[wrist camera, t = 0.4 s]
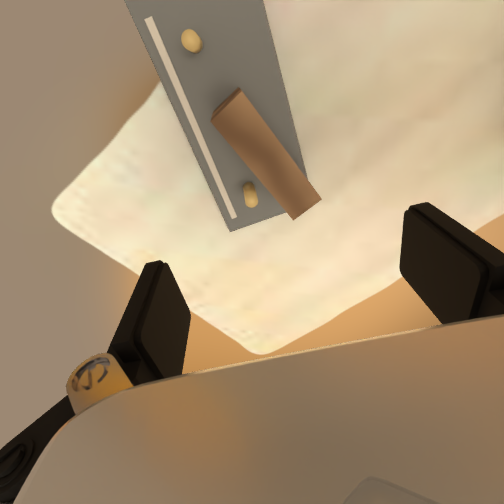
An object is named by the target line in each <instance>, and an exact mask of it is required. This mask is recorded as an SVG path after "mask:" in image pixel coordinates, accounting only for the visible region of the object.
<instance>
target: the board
mask: <svg viewBox="0 0 504 504" xmlns="http://www.w3.org/2000/svg"><path fill="white" fill-rule="evenodd" d="M124 1H125V3H126V5H127V7H128V9H129V11H130V14H131V16H132V18H133V20H134V22H135V25H136V27H137V29H138V31H139V33H140V36H141V38H142V40H143V42H144V44H145V47H146V49H147V51H148V53H149V55H150V58H151V60H152V62H153V64H154V66H155V69H156V71H157V73H158V75H159V77H160V79H161V82H162V84H163V86H164V88H165V90H166V93H167V95H168V97H169V99H170V101H171V104H172V106H173V108H174V110H175V112H176V115H177V117H178V119H179V121H180V123H181V126H182V128H183V130H184V132H185V134H186V137H187V139H188V141H189V143H190V145H191V147H192V150H193V152H194V154H195V156H196V158H197V161H198V163H199V165H200V167H201V169H202V172H203V174H204V176H205V178H206V180H207V183H208V185H209V187H210V189H211V191H212V194H213V196H214V198H215V200H216V202H217V205H218V207H219V209H220V211H221V213H222V215H223V218H224V220H225V222H226V224H227V226H228V229H229V231H230V232H232V231H235V230H237V229H240V228H243V227H246V226H249V225H252V224H254V223H257V222H260V221H263V220H266V219H269V218H271V217H274V216H277V215H280V214H283V213H286V211H285V210H284V209H283V207H282V206H281V205H280V204H279V203H278V201H277V200H276V199H275V198H274V197H273V196H272V194H271V193H270V192H269V191H268V190H267V188H266V187H265V186H264V185H263V184H262V182H261V181H260V180H259V179H258V178H257V176H256V175H255V174H254V173H253V172H252V171H251V169H250V168H249V167H248V166H247V165H246V163H245V162H244V161H243V160H242V159H241V157H240V156H239V155H238V154H237V153H236V152H235V150H234V149H233V148H232V147H231V146H230V144H229V143H228V142H227V141H226V140H225V138H224V137H223V136H222V135H221V134H220V133H219V131H218V130H217V129H216V128H215V127H214V125H213V124H212V123H211V122H210V121H211V117H212V114H213V111H214V110H215V109H216V108H217V107H218V106H219V105H220V104H221V103H222V102H223V101H225V100H226V99H227V98H228V97H229V96H230V95H231V94H232V93H233V92H234V91H235V90H236V89H237V88H238V87H239V88H240V89H241V90H242V92H243V93H244V94H245V96H246V97H247V98H248V100H249V101H250V102H251V104H252V105H253V107H254V108H255V109H256V111H257V112H258V113H259V115H260V116H261V117H262V119H263V120H264V121H265V123H266V124H267V126H268V127H269V128H270V130H271V131H272V132H273V134H274V135H275V136H276V138H277V139H278V140H279V142H280V143H281V144H282V146H283V147H284V149H285V150H286V151H287V153H288V154H289V155H290V157H291V158H292V159H293V161H294V162H295V163H296V165H297V166H298V168H299V169H300V170H301V172H302V173H303V174H304V176H305V177H306V178H307V175H306V171H305V167H304V163H303V159H302V155H301V151H300V147H299V143H298V139H297V135H296V131H295V127H294V123H293V119H292V115H291V111H290V107H289V103H288V99H287V95H286V91H285V87H284V83H283V79H282V75H281V71H280V67H279V63H278V59H277V55H276V51H275V47H274V43H273V39H272V35H271V31H270V27H269V23H268V19H267V15H266V11H265V7H264V3H263V0H124ZM307 180H308V179H307Z"/></svg>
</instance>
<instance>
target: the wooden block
mask: <svg viewBox="0 0 504 504" xmlns="http://www.w3.org/2000/svg"><path fill="white" fill-rule="evenodd" d="M210 122H211V123H212V124H213V125H214V127H215V128H216V129H217V130H218V131H219V133H220V134H221V135H222V136H223V137H224V138H225V140H226V141H227V142H228V143H229V144H230V146H231V147H232V148H233V149H234V150H235V152H236V153H237V154H238V155H239V156H240V157H241V159H242V160H243V161H244V162H245V163H246V165H247V166H248V167H249V168H250V169H251V171H252V172H253V173H254V174H255V175H256V176H257V178H258V179H259V180H260V181H261V182H262V184H263V185H264V186H265V187H266V188H267V190H268V191H269V192H270V193H271V194H272V196H273V197H274V198H275V199H276V200H277V201H278V203H279V204H280V205H281V206H282V207H283V209H284V210H285V211H286V212H287V213H288V215H289V216H290V217H291V218H292V219H293V220H294V219H296V218H297V217H299V216H300V215H301V214H303V213H304V212H305V211H307V210H308V209H309V208H311V207H312V206H313V205H315V204H316V203H317V202H319V201H320V200H321V197H320V196H319V195H318V193H317V192H316V191H315V189H314V188H313V187H312V185H311V184H310V182H309V181H308V180H307V178H306V177H305V176H304V174H303V173H302V172H301V170H300V169H299V168H298V166H297V165H296V163H295V162H294V161H293V159H292V158H291V157H290V155H289V154H288V153H287V151H286V150H285V149H284V147H283V146H282V144H281V143H280V142H279V140H278V139H277V138H276V136H275V135H274V134H273V132H272V131H271V130H270V128H269V127H268V126H267V124H266V123H265V121H264V120H263V119H262V117H261V116H260V115H259V113H258V112H257V111H256V109H255V108H254V107H253V105H252V104H251V102H250V101H249V100H248V98H247V97H246V96H245V94H244V93H243V92H242V90H241V89H240V88H239V87H238V88H237V89H236V90H235V91H234V92H233V93H232V94H231V95H230V96H229V97H228V98H227V99H226V100H225V101H223V102H222V103H221V104H220V105H219V106H218V107H217V108H216V109H215V110H214V111H213V114H212V117H211V121H210Z"/></svg>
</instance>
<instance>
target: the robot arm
mask: <svg viewBox="0 0 504 504" xmlns="http://www.w3.org/2000/svg"><path fill="white" fill-rule="evenodd" d="M400 272H401V274H402V276H403V277H404V278H405V280H406V281H407V282H408V283H409V285H410V286H411V287H412V288H413V289H414V291H415V292H416V293H417V294H418V295H419V296H420V298H421V299H422V300H423V301H424V303H425V304H426V305H427V306H428V307H429V309H430V310H431V311H432V312H433V314H434V315H435V316H436V317H437V318H438V319H439V321H440V322H441V323H442V325H436V326H431V327H426V328H420V329H415V330H409V331H404V332H399V333H394V334H389V335H383V336H377V337H372V338H366V339H361V340H356V341H350V342H345V343H340V344H335V345H329V346H324V347H319V348H314V349H309V350H303V351H298V352H293V353H288V354H282V355H278V356H272V357H267V358H262V359H257V360H252V361H247V362H242V363H237V364H231V365H226V366H221V367H217V368H211V369H206V370H201V371H197V372H192V373H187V374H182V369H183V363H184V357H185V351H186V345H187V339H188V332H189V326H190V320H191V314H190V310H189V308H188V306H187V304H186V302H185V299H184V297H183V295H182V293H181V291H180V289H179V287H178V284H177V282H176V280H175V278H174V276H173V274H172V271H171V269H170V267H169V265H168V264H167V263H163V262H162V261H161V260H159V261H154V262H150V263H146V264H145V266H144V268H143V271H142V273H141V275H140V278H139V280H138V282H137V284H136V287H135V289H134V291H133V294H132V296H131V298H130V300H129V303H128V305H127V307H126V310H125V312H124V314H123V317H122V319H121V321H120V323H119V326H118V328H117V330H116V332H115V335H114V337H113V339H112V341H111V344H110V346H109V349H108V351H107V353H101V354H97V355H94V356H92V357H90V358H88V359H86V360H85V361H84V362H82V363H81V364H80V365H79V366H78V367H77V368H76V369H75V370H74V371H73V372H72V374H71V375H70V377H69V379H68V381H67V384H66V391H67V394H68V395H67V396H66V397H64V398H63V399H62V400H61V401H60V402H58V403H57V404H56V405H55V406H53V407H52V408H51V409H50V410H48V411H47V412H46V413H45V414H43V415H42V416H41V417H40V418H38V419H37V420H36V421H35V422H33V423H32V424H31V425H30V426H28V427H27V428H26V429H25V430H24V431H22V432H21V433H20V434H18V435H17V436H16V437H15V438H13V439H12V440H11V441H10V442H9V443H7V444H6V445H5V446H4V447H3V448H2V449H1V450H0V504H504V253H503V252H501V251H500V250H498V249H497V248H495V247H494V246H492V245H491V244H489V243H488V242H486V241H485V240H483V239H482V238H480V237H479V236H478V235H476V234H475V233H473V232H472V231H470V230H469V229H467V228H466V227H464V226H463V225H461V224H460V223H458V222H457V221H455V220H454V219H452V218H451V217H449V216H448V215H446V214H445V213H443V212H442V211H441V210H439V209H438V208H436V207H435V206H433V205H432V204H430V203H428V202H425V203H420V204H416V205H411V206H410V207H409V209H408V210H406V211H405V213H404V221H403V232H402V244H401V256H400Z"/></svg>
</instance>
